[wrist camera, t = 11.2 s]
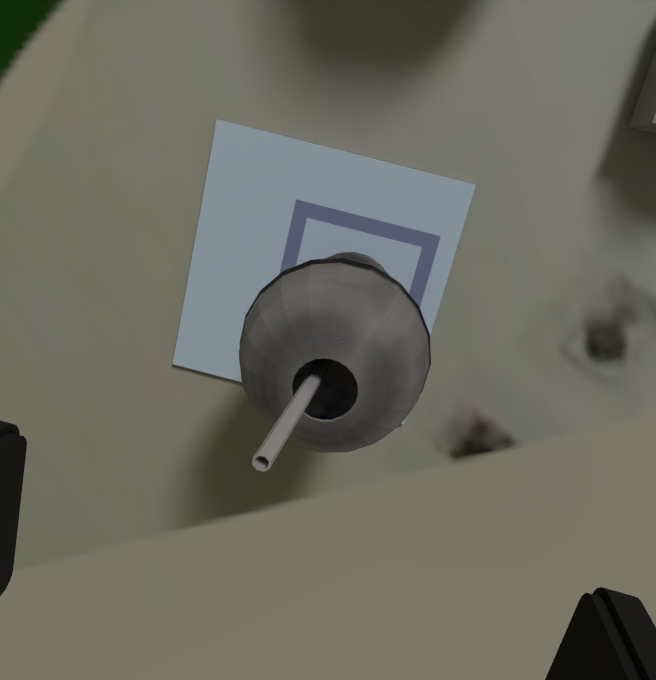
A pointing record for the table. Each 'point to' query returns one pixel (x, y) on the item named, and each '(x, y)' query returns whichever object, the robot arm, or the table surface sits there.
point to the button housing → (646, 103)
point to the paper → (306, 231)
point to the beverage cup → (332, 356)
